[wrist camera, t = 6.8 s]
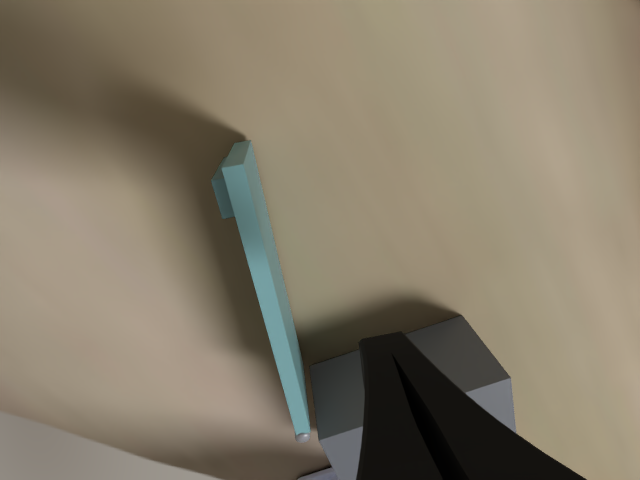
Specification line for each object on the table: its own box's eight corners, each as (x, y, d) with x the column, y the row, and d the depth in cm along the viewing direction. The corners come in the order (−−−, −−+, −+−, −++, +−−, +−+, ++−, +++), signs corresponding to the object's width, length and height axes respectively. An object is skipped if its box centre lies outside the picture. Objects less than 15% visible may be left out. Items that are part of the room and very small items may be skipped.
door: (250, 140, 17) (243, 164, 13) (305, 372, 24) (312, 440, 20) (222, 145, 17) (205, 171, 13) (284, 376, 24) (287, 445, 20)
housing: (475, 392, 28) (525, 471, 22) (341, 436, 28) (358, 524, 23) (462, 315, 24) (517, 386, 19) (309, 366, 24) (320, 451, 19)
